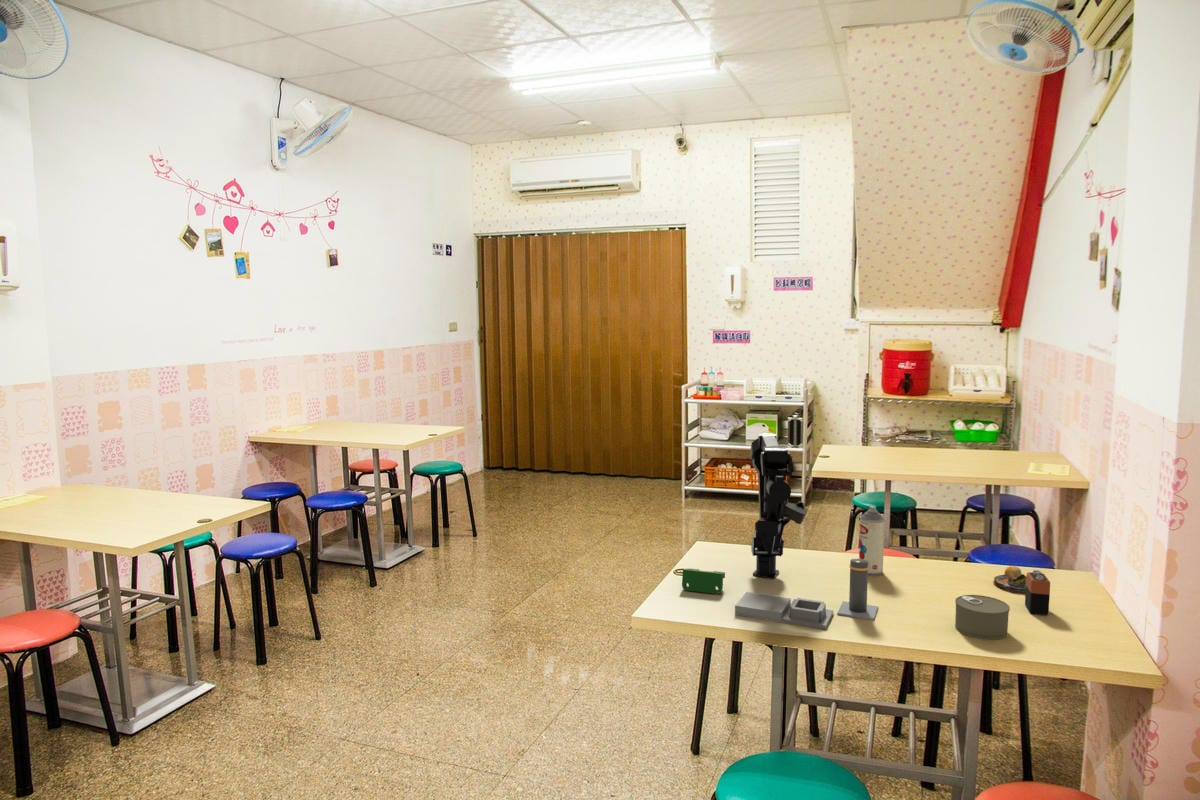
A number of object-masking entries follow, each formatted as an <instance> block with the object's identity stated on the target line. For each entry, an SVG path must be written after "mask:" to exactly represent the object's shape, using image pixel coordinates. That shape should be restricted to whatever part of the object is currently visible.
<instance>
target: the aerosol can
mask: <svg viewBox="0 0 1200 800" xmlns="http://www.w3.org/2000/svg"><path fill="white" fill-rule="evenodd" d="M884 541H885V516H883V515H882V514H881V513H880V512H879V511H878V510H877V507H876V506H875V505H869V509H868V510H867V511H865V512H864V513H863V514H862V515H860V519H859V549H858V554H859V555H858V559H864V560H867V561H868V566H869V569H868V576H872V577H873V576H881V575H883V574H884V573H883V572H884V547H885V544H884Z"/></svg>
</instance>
